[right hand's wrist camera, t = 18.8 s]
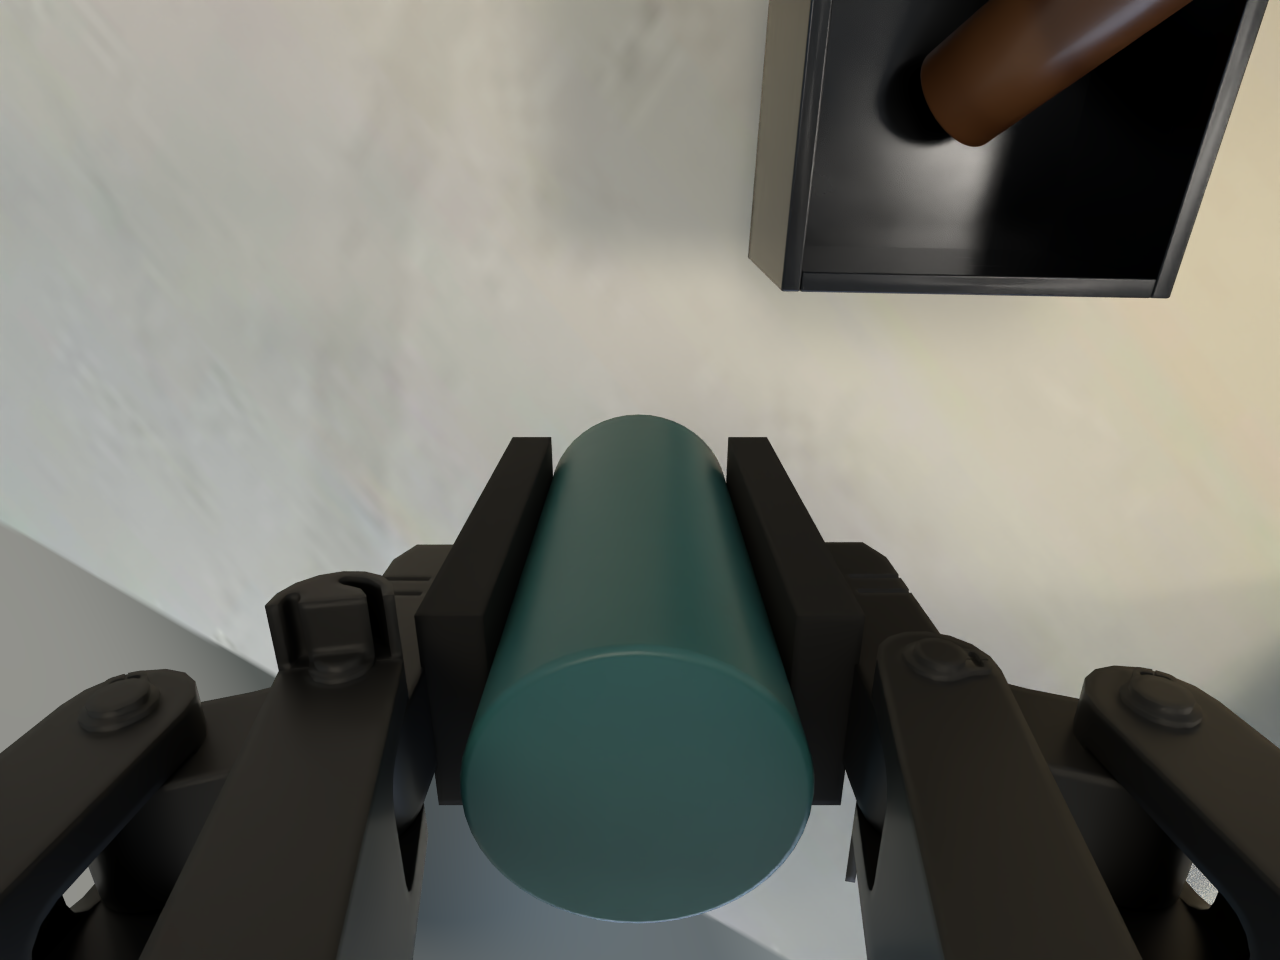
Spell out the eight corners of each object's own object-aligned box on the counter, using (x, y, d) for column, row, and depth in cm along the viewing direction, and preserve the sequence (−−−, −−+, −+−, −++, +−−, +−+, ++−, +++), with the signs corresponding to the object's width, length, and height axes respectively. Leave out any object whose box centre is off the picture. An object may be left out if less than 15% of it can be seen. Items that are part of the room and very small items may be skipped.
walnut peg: (980, 65, 26) (1246, -151, 19) (1001, 156, 25) (1284, -31, 18) (910, 40, 24) (1175, -208, 17) (931, 137, 23) (1214, -77, 16)
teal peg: (729, 412, 14) (833, 648, 6) (722, 575, 15) (801, 927, 8) (547, 413, 14) (439, 648, 6) (554, 575, 15) (472, 928, 8)
